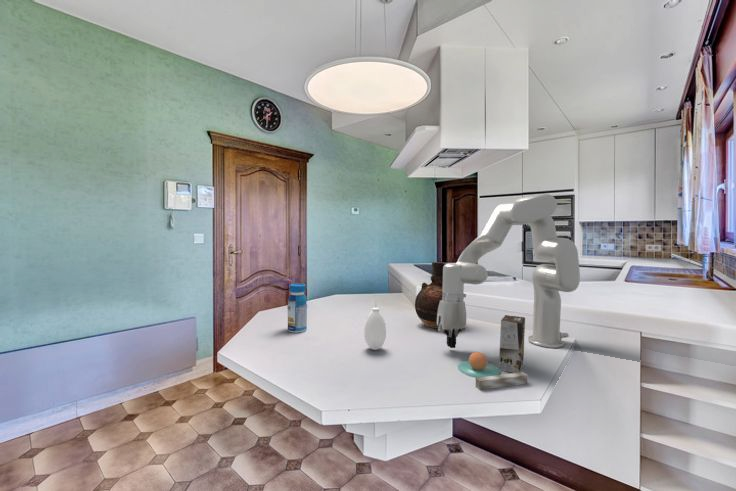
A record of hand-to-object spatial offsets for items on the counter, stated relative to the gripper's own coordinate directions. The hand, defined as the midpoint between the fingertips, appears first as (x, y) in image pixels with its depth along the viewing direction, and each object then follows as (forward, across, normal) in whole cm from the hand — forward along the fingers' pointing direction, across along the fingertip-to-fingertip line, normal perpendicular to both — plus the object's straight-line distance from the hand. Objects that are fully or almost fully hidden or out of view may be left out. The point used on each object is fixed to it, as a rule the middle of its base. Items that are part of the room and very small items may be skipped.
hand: (451, 346), depth 122 cm
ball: (-1, 0, +17) cm, 17 cm away
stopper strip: (+2, 0, +28) cm, 28 cm away
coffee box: (+2, -12, +18) cm, 21 cm away
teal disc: (+2, 0, +17) cm, 17 cm away
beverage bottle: (+2, +53, -38) cm, 65 cm away
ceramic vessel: (+2, -10, -30) cm, 32 cm away
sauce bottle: (+2, +27, -8) cm, 28 cm away
